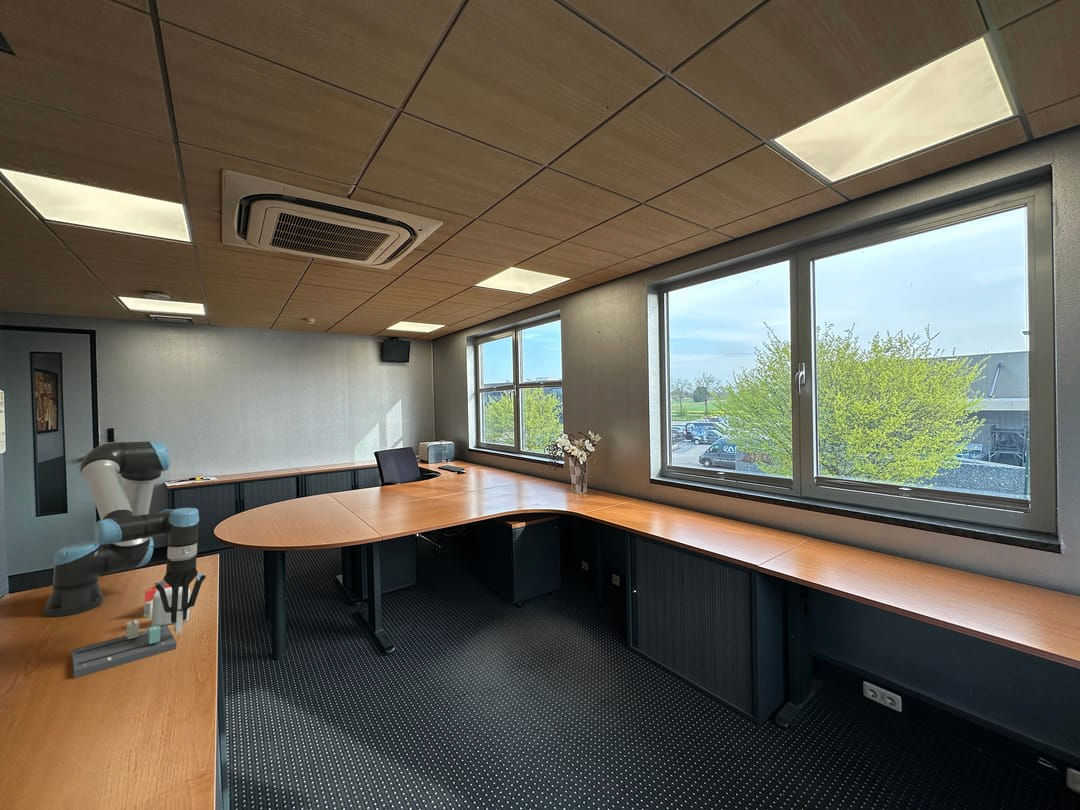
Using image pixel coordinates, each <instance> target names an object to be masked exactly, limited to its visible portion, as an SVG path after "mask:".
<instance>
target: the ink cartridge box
mask: <svg viewBox="0 0 1080 810" xmlns="http://www.w3.org/2000/svg"><path fill="white" fill-rule="evenodd" d="M168 587H171V586H170V585H169V584H168V583H165V587H164V588H168ZM156 591H158V590H157V589H156V587H155V585H154V586H152V587H149V588H146V589H145V590H144V606H143V607H144V608H143V616H142V617H143V618H148V619H149V618H152V608H153V597H154V595H155V593H156Z"/></svg>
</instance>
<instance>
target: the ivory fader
mask: <svg viewBox="0 0 1080 810" xmlns="http://www.w3.org/2000/svg"><path fill="white" fill-rule="evenodd" d="M139 632H140V622H139V620H138V619H135V620H131V621H127V622H126V633H125V636H127V639H132V638H136V637H139Z"/></svg>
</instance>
